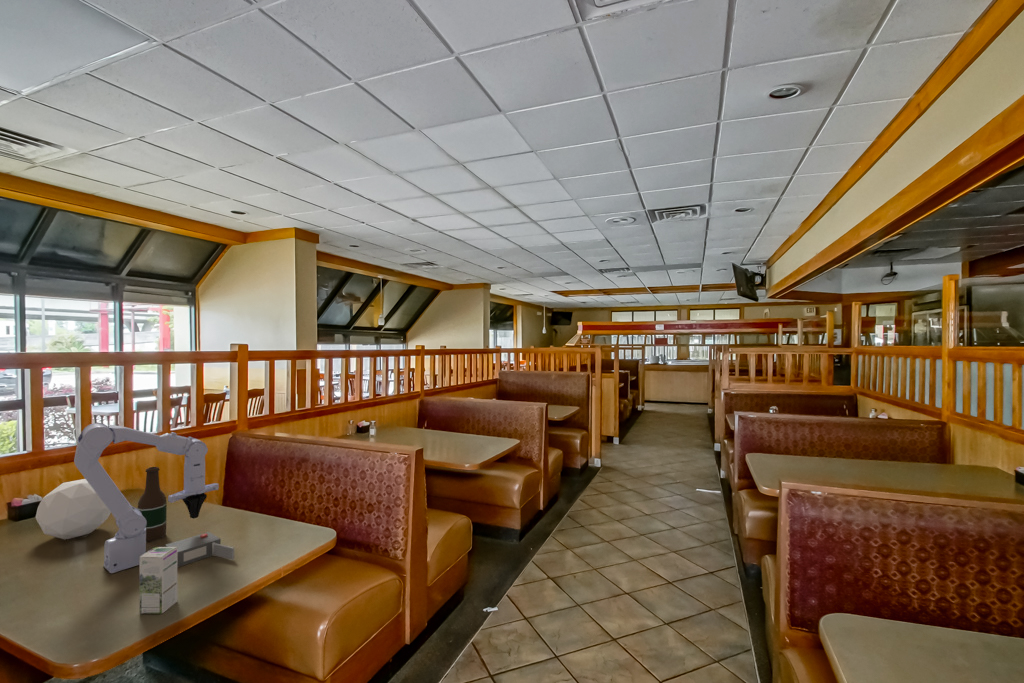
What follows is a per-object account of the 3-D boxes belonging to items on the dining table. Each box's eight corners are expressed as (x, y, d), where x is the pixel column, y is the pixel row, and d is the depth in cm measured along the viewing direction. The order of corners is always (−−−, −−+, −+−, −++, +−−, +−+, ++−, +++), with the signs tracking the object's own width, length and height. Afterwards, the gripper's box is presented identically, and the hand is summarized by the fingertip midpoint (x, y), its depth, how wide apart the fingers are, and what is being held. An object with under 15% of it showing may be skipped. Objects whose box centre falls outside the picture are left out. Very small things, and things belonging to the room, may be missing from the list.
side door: (234, 559, 139) (234, 546, 139) (232, 560, 138) (232, 548, 138) (213, 554, 142) (213, 542, 142) (211, 555, 142) (211, 543, 142)
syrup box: (178, 601, 117) (178, 545, 117) (161, 614, 111) (162, 556, 111) (156, 601, 117) (156, 545, 117) (137, 615, 111) (138, 556, 111)
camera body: (170, 569, 133) (171, 552, 133) (160, 560, 139) (160, 544, 139) (220, 553, 144) (220, 537, 144) (208, 545, 149) (208, 530, 149)
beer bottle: (172, 533, 159) (172, 465, 159) (152, 542, 151) (152, 471, 151) (151, 532, 159) (152, 464, 159) (131, 541, 152) (131, 470, 152)
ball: (62, 554, 157) (52, 501, 163) (130, 524, 165) (118, 475, 172) (24, 548, 141) (15, 490, 147) (102, 515, 149) (90, 462, 156)
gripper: (177, 484, 141) (177, 527, 141) (224, 472, 154) (223, 512, 154) (164, 480, 144) (164, 523, 144) (211, 469, 157) (211, 508, 157)
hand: (194, 517), depth 149 cm, fingers closed
